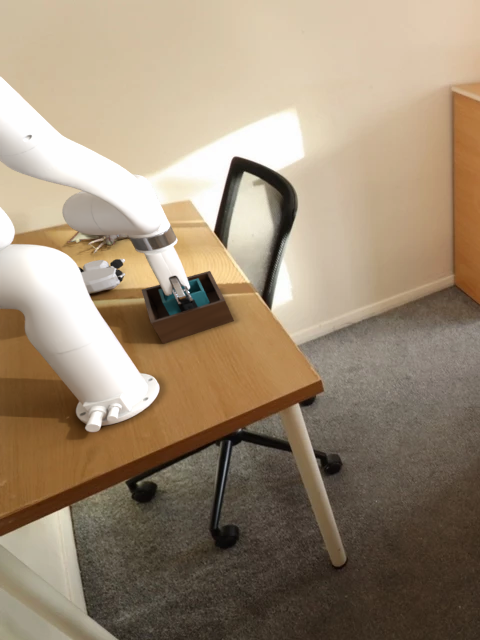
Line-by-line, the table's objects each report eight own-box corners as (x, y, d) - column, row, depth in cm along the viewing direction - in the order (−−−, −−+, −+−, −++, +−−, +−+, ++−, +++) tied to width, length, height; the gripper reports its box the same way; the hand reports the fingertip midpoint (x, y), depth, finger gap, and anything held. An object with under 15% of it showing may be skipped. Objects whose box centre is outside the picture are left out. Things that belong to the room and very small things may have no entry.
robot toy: (76, 279, 120) (66, 305, 110) (65, 263, 118) (55, 288, 107) (132, 267, 125) (129, 291, 115) (124, 252, 123) (119, 274, 112)
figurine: (122, 234, 127) (49, 242, 123) (134, 253, 131) (63, 262, 127) (141, 201, 141) (75, 207, 137) (151, 219, 145) (88, 226, 141)
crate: (234, 320, 107) (225, 300, 103) (163, 344, 100) (150, 323, 96) (218, 290, 116) (210, 270, 113) (152, 309, 110) (141, 289, 106)
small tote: (208, 299, 112) (198, 278, 108) (214, 312, 108) (204, 290, 104) (170, 311, 108) (158, 289, 104) (175, 325, 104) (162, 302, 100)
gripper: (127, 227, 99) (165, 297, 111) (137, 261, 89) (178, 334, 100) (167, 218, 103) (201, 286, 114) (181, 249, 92) (217, 321, 104)
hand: (190, 308), depth 107 cm, fingers closed on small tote, 6 cm apart
